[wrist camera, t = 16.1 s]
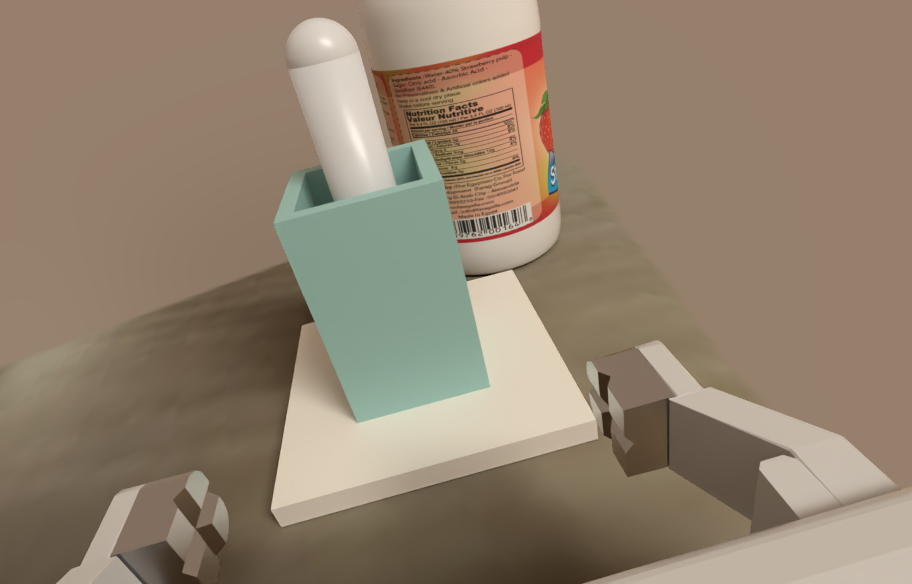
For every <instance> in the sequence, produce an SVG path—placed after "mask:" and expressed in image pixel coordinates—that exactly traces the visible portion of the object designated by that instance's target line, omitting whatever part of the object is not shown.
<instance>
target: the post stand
mask: <svg viewBox="0 0 912 584" xmlns="http://www.w3.org/2000/svg"><path fill="white" fill-rule="evenodd" d="M285 60H286V65H287V69H288V71H289V74H290V77H291V80H292V83H293V86H294V88H295V91H296V94H297V97H298V100H299V103H300V106H301V108H302V112H303V114H304V117H305V120H306V123H307V126H308V129H309V131H310V134H311V137H312V140H313V143H314V146H315V149H316V152H317V154H318V157H319V160H320V163H321V166H322V169H323V172H324V175H325V177H326V180H327V183H328V186H329V189H330V192H331V195H332V197H333V200H334V202H335V201H339V200H343V199H347V198H351V197H355V196H359V195H363V194H366V193H370V192H374V191H378V190H382V189H386V188H390V187H394V186H397V185H396V181H395V178H394V174H393V170H392V167H391V163H390V160H389V156H388V152H387V149H386V145H385V142H384V138H383V134H382V131H381V127H380V124H379V121H378V117H377V113H376V109H375V106H374V102H373V99H372V95H371V92H370V88H369V85H368V81H367V77H366V73H365V70H364V66H363V62H362V59H361V55H360V52H359V49H358V46H357V44H356V41H355V40H354V38H353V36H352V35H351V34H350V33H349V31H348V30H347V29H345V28H344V27H343V26H342V25H340V24H339V23H337V22H335V21H333V20H329V19H325V18H313V19H309V20H306V21H304V22H302V23H300V24H299V25H298V26H297V27H296V28H295V29H294V30H293V31H292V32H291V34H290V36H289V38H288V40H287V43H286V48H285ZM467 286H468V291H469V295H470V300H471V304H472V308H473V313H474V317H475V322H476V326H477V330H478V335H479V339H480V343H481V348H482V352H483V357H484V361H485V365H486V370H487V374H488V379H489V383H490V387H489V388H485V389H481V390H478V391H474V392H470V393H467V394H463V395H459V396H456V397H452V398H448V399H445V400H441V401H437V402H434V403H430V404H426V405H423V406H419V407H416V408H412V409H408V410H405V411H401V412H397V413H394V414H390V415H386V416H383V417H379V418H375V419H372V420H368V421H364V422H361V423H357V420H356V418H355V416H354V413H353V411H352V409H351V406H350V404H349V402H348V399H347V397H346V395H345V392H344V390H343V387H342V385H341V383H340V380H339V378H338V376H337V373H336V371H335V369H334V366H333V364H332V361H331V359H330V357H329V354H328V352H327V350H326V347H325V345H324V343H323V340H322V338H321V336H320V333H319V331H318V328H317V326H316V324H315V322H313V323H309V324H305V325H302V328H301V334H300V340H299V346H298V352H297V357H296V363H295V369H294V375H293V381H292V387H291V393H290V399H289V405H288V411H287V417H286V423H285V428H284V434H283V440H282V446H281V452H280V458H279V464H278V470H277V476H276V482H275V488H274V494H273V500H272V505H271V511H272V513H273V515H274V516H275V518H276V519H277V521H278V523H279V524H280V526H281V527H284V526H287V525H291V524H295V523H298V522H302V521H305V520H309V519H312V518H316V517H320V516H323V515H327V514H330V513H334V512H338V511H341V510H345V509H348V508H352V507H355V506H359V505H363V504H366V503H370V502H373V501H377V500H381V499H384V498H388V497H391V496H395V495H398V494H402V493H406V492H409V491H413V490H416V489H420V488H424V487H427V486H431V485H434V484H438V483H442V482H445V481H449V480H452V479H456V478H459V477H463V476H467V475H470V474H474V473H477V472H481V471H485V470H488V469H492V468H495V467H499V466H502V465H506V464H510V463H513V462H517V461H520V460H524V459H528V458H531V457H535V456H538V455H542V454H545V453H549V452H553V451H556V450H560V449H563V448H567V447H571V446H574V445H578V444H581V443H585V442H588V441H592V440H596V439H598V433H597V422H596V419H595V417H594V415H593V413H592V411H591V409H590V408H589V406H588V404H587V402H586V401H585V399H584V397H583V395H582V393H581V392H580V390H579V388H578V386H577V384H576V383H575V381H574V379H573V377H572V376H571V374H570V372H569V370H568V368H567V367H566V365H565V363H564V361H563V360H562V358H561V356H560V354H559V352H558V351H557V349H556V347H555V345H554V344H553V342H552V340H551V338H550V336H549V335H548V333H547V331H546V329H545V328H544V326H543V324H542V322H541V320H540V319H539V317H538V315H537V313H536V312H535V310H534V308H533V306H532V304H531V303H530V301H529V299H528V297H527V295H526V294H525V292H524V290H523V288H522V287H521V285H520V283H519V281H518V279H517V278H516V276H515V274H514V272H513V271H512V270H509V271H505V272H501V273H498V274H494V275H490V276H486V277H482V278H479V279H475V280H471V281H467Z"/></svg>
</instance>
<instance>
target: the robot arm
mask: <svg viewBox="0 0 912 584" xmlns="http://www.w3.org/2000/svg"><path fill="white" fill-rule="evenodd" d="M587 376H588V378H589V379H590V381H591V383H592V384H593V387H592V388H591V390H590V392H589V394H590V401H591V406H592V410H593V413H594V417H595V419H596V421H597V423H598V426H599V428H600V429H601V431H602V433H603V435H604V436H606V437H608V438H610V439H612V447H613V453H614V454H615V456H616V458H617V460H618V461H619V463H620V465H621V467H622V468H623V470H624V472H625V474H626V475H627V477H630V476H634V475H638V474H641V473H645V472H649V471H653V470H657V469H661V468H665V467H669V469H671V470H672V471H674V472H676V473H677V474H679V475H680V476H682V477H683V478H685V479H687V480H688V481H690V482H691V483H693V484H695V485H696V486H698V487H699V488H701V489H702V490H704V491H706V492H707V493H709V494H710V495H712V496H714V497H715V498H717V499H718V500H720V501H721V502H723V503H725V504H726V505H728V506H729V507H731V508H732V509H734V510H736V511H737V512H739V513H740V514H742V515H744V516H745V517H747V518H748V519H750V520H751V521H752V524H751V531H750V534H749V535H745V536H742V537H739V538H735V539H732V540H728V541H725V542H722V543H718V544H715V545H712V546H708V547H705V548H701V549H698V550H695V551H691V552H688V553H684V554H681V555H678V556H674V557H671V558H667V559H664V560H661V561H657V562H654V563H651V564H647V565H644V566H640V567H637V568H634V569H630V570H627V571H623V572H620V573H617V574H613V575H610V576H607V577H603V578H600V579H596V580H593V581H590V582H586V583H583V584H912V487H908V488H905V489H900V488H899V487H898V486H897V485H896V484H895V483H894V482H892V481H891V480H890V479H889V478H888V477H887V476H886V475H884V473H882V472H881V471H880V470H879V469H878V468H877V467H876V466H875V465H874V464H872V463H871V462H870V461H869V460H868V459H867V458H866V457H865V456H863V454H861V453H860V452H859V451H858V450H857V449H856V448H855V447H853V446H852V445H851V444H850V443H849V442H848V441H847V440H846V439H845V438H843V436H840V435H838V434H835V433H832V432H830V431H827V430H824V429H822V428H819V427H816V426H813V425H811V424H808V423H805V422H803V421H800V420H797V419H795V418H792V417H789V416H787V415H784V414H781V413H778V412H776V411H773V410H770V409H768V408H765V407H762V406H760V405H757V404H754V403H752V402H749V401H746V400H744V399H741V398H738V397H735V396H733V395H730V394H727V393H725V392H722V391H719V390H717V389H714V388H711V387H709V388H706V389H703V388H702V387H701V386H700V385H699V384H698V383H697V381H696V380H695V379H694V378H693V377H692V376H691V375H690V374H689V373H688V371H687V370H686V369H685V368H684V367H683V366H682V365H681V364H680V363H679V361H678V360H677V359H676V358H675V357H674V356H673V355H672V354H671V353H670V352H669V350H668V349H667V348H666V347H665V346H664V345H663V344H662V343H661V342H659V341H657V340H656V341H653V342H649V343H646V344H643V345H639V346H636V347H634V348H630V349H627V350H624V351H620V352H617V353H613V354H610V355H606V356H603V357H599V358H596V359H592V360H589V361H587ZM208 485H209V481H208V480H207V478H206V477H205V476H204V475H203V473H202V472H201V471H192V472H188V473H184V474H180V475H176V476H172V477H169V478H165V479H161V480H157V481H153V482H149V483H146V484H144V485H139V486H135V487H131V488H127V489H123V490H121V491H120V492H119V493H118V494H116V495H115V496H114V498H113V500H112V502H111V504H110V506H109V508H108V510H107V512H106V515H105V517H104V519H103V521H102V523H101V525H100V527H99V529H98V531H97V533H96V535H95V537H94V539H93V541H92V543H91V545H90V547H89V549H88V551H87V553H86V555H85V557H84V559H83V561H82V563H81V565H80V566H79V567H76V568H72V569H71V570H70V571H69V572H68V573H67V574H66V575H65V576H64V577H63V578H62V579H60V580H59V581H58V582H57V583H56V584H216V583H217V578H218V574H219V570H220V566H221V563H220V562H219V560H218V558H217V557H216V555H217V554H218V552H219V551H220V550H221V549H222V547H223V546H224V545H225V544H226V541H227V536H228V532H229V521H228V513H227V510H226V507H225V504H224V503H223V501H222V500H221V498H220V497H219V496H217V495H215V494H212V493H210V492H207V488H208Z"/></svg>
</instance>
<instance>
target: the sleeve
mask: <svg viewBox="0 0 912 584" xmlns="http://www.w3.org/2000/svg"><path fill="white" fill-rule="evenodd" d="M386 149H387V152H388V156H389V160H390V163H391V167H392V170H393V174H394V178H395V181H396V185H397V186H394V187H390V188H386V189H382V190H378V191H374V192H370V193H366V194H363V195H359V196H355V197H351V198H347V199H343V200H339V201H335V202H334V200H333V197H332V195H331V192H330V189H329V186H328V183H327V180H326V177H325V175H324V172H323V169H322V166H321V165H319V166H316V167H312V168H308V169H304V170H300V171H296V172H292V174H291V176H290V179H289V182H288V185H287V187H286V190H285V193H284V196H283V198H282V201H281V204H280V206H279V209H278V212H277V215H276V217H275V220H274V223H273V225H274V227H275V229H276V232H277V234H278V236H279V239H280V241H281V244H282V246H283V248H284V251H285V253H286V255H287V258H288V260H289V262H290V265H291V267H292V270H293V272H294V274H295V277H296V279H297V281H298V284H299V286H300V288H301V291H302V293H303V295H304V298H305V300H306V303H307V305H308V307H309V310H310V312H311V314H312V317H313V319H314V321H315V324H316V326H317V328H318V331H319V333H320V336H321V338H322V340H323V343H324V345H325V347H326V350H327V352H328V354H329V357H330V359H331V361H332V364H333V366H334V369H335V371H336V373H337V376H338V378H339V380H340V383H341V385H342V387H343V390H344V392H345V395H346V397H347V399H348V402H349V404H350V406H351V409H352V411H353V413H354V416H355V418H356V420H357V423H361V422H364V421H368V420H372V419H375V418H379V417H383V416H386V415H390V414H394V413H397V412H401V411H405V410H408V409H412V408H416V407H419V406H423V405H426V404H430V403H434V402H437V401H441V400H445V399H448V398H452V397H456V396H459V395H463V394H467V393H470V392H474V391H478V390H481V389H485V388H489V387H490V383H489V379H488V374H487V370H486V365H485V361H484V357H483V352H482V348H481V343H480V339H479V335H478V330H477V326H476V322H475V317H474V313H473V308H472V304H471V300H470V295H469V291H468V286H467V282H466V278H465V273H464V269H463V265H462V260H461V256H460V251H459V247H458V243H457V238H456V234H455V229H454V225H453V221H452V216H451V212H450V207H449V203H448V199H447V194H446V190H445V186H444V181H443V178H442V176H441V174H440V172H439V170H438V168H437V165H436V163H435V161H434V159H433V157H432V155H431V153H430V150H429V148H428V146H427V144H426V142H425V140H424V139H422V140H418V141H414V142H410V143H406V144H402V145H398V146H394V147H390V148H386Z"/></svg>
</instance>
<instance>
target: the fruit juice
mask: <svg viewBox="0 0 912 584" xmlns="http://www.w3.org/2000/svg"><path fill="white" fill-rule="evenodd" d="M360 20H361V27H362V32H363V37H364V42H365V46H366V50H367V55H368V59H369V62H370V66H371V70H372V73H373V76H374V80H375V83H376V87H377V91H378V94H379V97H380V102H381V105H382V109H383V113H384V116H385V120H386V123H387V128H388V131H389V134H390V139H391V142H392V146H393V147H394V146H398V145H402V144H406V143H410V142H414V141H418V140H422V139H424V140H425V142H426V144H427V146H428V148H429V150H430V153H431V155H432V157H433V159H434V161H435V163H436V165H437V168H438V170H439V172H440V174H441V176H442V178H443V181H444V186H445V190H446V194H447V199H448V203H449V207H450V212H451V216H452V221H453V225H454V229H455V234H456V238H457V243H458V247H459V251H460V256H461V260H462V265H463V269H464V273H465V275H483V274H492V273H497V272H502V271H506V270H510V269H513V268H516V267H519V266H522V265H524V264H527V263H529V262H531V261H533V260H535V259H537V258H538V257H540V256H541V255H543V254H544V253H546V252H547V251H548V250H549V249H550V248H551V247H552V246H553V245H554V244H555V242H556V241H557V239H558V236H559V233H560V227H561V212H560V203H559V194H558V185H557V175H556V166H555V157H554V148H553V139H552V130H551V121H550V113H549V103H548V94H547V85H546V76H545V67H544V58H543V50H542V39H541V27H540V17H539V10H538V4H537V0H360Z"/></svg>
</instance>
